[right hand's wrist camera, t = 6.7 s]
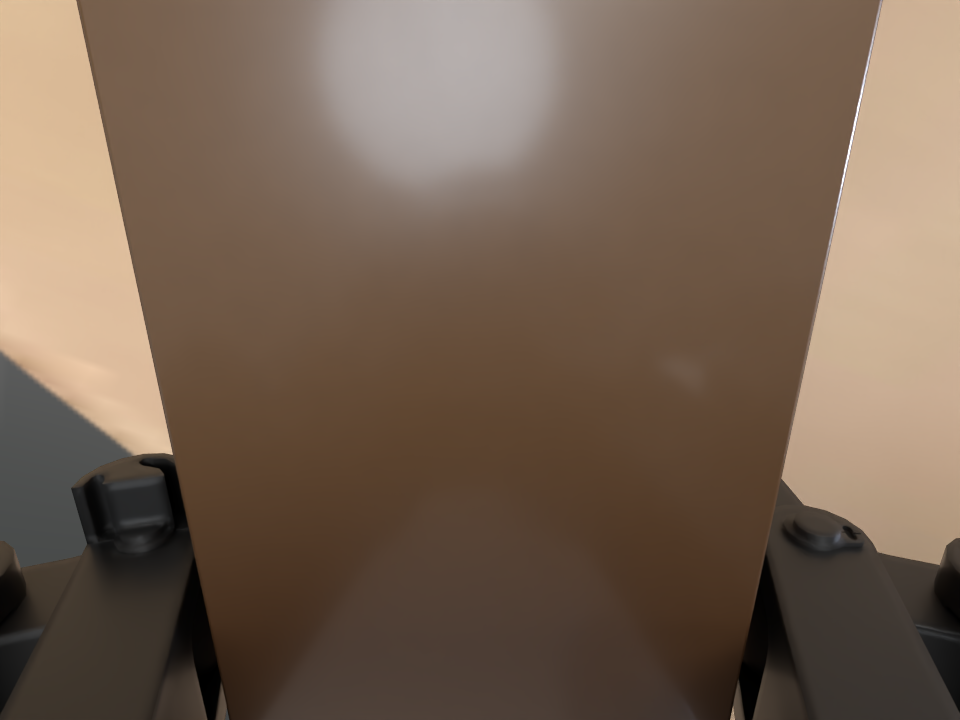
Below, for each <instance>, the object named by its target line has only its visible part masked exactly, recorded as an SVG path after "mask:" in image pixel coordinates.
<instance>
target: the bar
mask: <svg viewBox="0 0 960 720" xmlns="http://www.w3.org/2000/svg"><path fill="white" fill-rule="evenodd" d="M76 1H77V5H78V10H79V15H80V19H81V24H82V29H83V33H84V38H85V43H86V48H87V52H88V57H89V62H90V66H91V71H92V76H93V80H94V85H95V90H96V95H97V99H98V104H99V109H100V113H101V118H102V123H103V127H104V132H105V137H106V142H107V146H108V151H109V156H110V160H111V165H112V170H113V174H114V179H115V184H116V189H117V193H118V198H119V203H120V207H121V212H122V217H123V221H124V226H125V231H126V236H127V240H128V245H129V250H130V254H131V259H132V264H133V268H134V273H135V278H136V283H137V287H138V292H139V297H140V301H141V306H142V311H143V315H144V320H145V325H146V330H147V334H148V339H149V344H150V348H151V353H152V358H153V362H154V367H155V372H156V376H157V381H158V386H159V391H160V395H161V400H162V405H163V409H164V414H165V419H166V423H167V428H168V433H169V438H170V442H171V447H172V452H173V456H174V461H175V466H176V470H177V475H178V480H179V485H180V489H181V494H182V499H183V503H184V508H185V513H186V517H187V522H188V527H189V532H190V536H191V541H192V546H193V550H194V555H195V560H196V564H197V569H198V574H199V579H200V583H201V588H202V593H203V597H204V602H205V607H206V611H207V616H208V621H209V626H210V630H211V635H212V640H213V644H214V649H215V654H216V658H217V663H218V668H219V673H220V677H221V682H222V687H223V691H224V696H225V701H226V705H227V710H228V715H229V719H230V720H730V717H731V712H732V708H733V703H734V698H735V694H736V689H737V684H738V679H739V675H740V670H741V665H742V661H743V656H744V651H745V646H746V642H747V637H748V632H749V628H750V623H751V618H752V614H753V609H754V604H755V599H756V595H757V590H758V585H759V581H760V576H761V571H762V566H763V562H764V557H765V552H766V548H767V543H768V538H769V533H770V529H771V524H772V519H773V515H774V510H775V505H776V500H777V496H778V491H779V486H780V482H781V477H782V472H783V467H784V463H785V458H786V453H787V449H788V444H789V439H790V434H791V430H792V425H793V420H794V416H795V411H796V406H797V402H798V397H799V392H800V387H801V383H802V378H803V373H804V369H805V364H806V359H807V354H808V350H809V345H810V340H811V336H812V331H813V326H814V321H815V317H816V312H817V307H818V303H819V298H820V293H821V288H822V284H823V279H824V274H825V270H826V265H827V260H828V255H829V251H830V246H831V241H832V237H833V232H834V227H835V222H836V218H837V213H838V208H839V204H840V199H841V194H842V189H843V185H844V180H845V175H846V171H847V166H848V161H849V157H850V152H851V147H852V142H853V138H854V133H855V128H856V124H857V119H858V114H859V109H860V105H861V100H862V95H863V91H864V86H865V81H866V76H867V72H868V67H869V62H870V58H871V53H872V48H873V43H874V39H875V34H876V29H877V25H878V20H879V15H880V10H881V6H882V1H883V0H76Z"/></svg>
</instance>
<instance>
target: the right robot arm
mask: <svg viewBox="0 0 960 720" xmlns="http://www.w3.org/2000/svg"><path fill="white" fill-rule="evenodd" d="M71 489H72V493H73V496H74V500H75V503H76V507H77V510H78V513H79V517H80V520H81V524H82V527H83V531H84V534H85V538H86V541H87V546H86V548H85V550H84V552H83V554H82V555H81V556H77V557H73V558H68V559H64V560H59V561H53V562H49V563H43V564H39V565H33V566H29V567H23V568H20V565H19V562H18V559H17V556H16V553H15V550H14V548H13V547H11V546H10V545H8V544H7V543H6V542H4V541H0V720H225V716H226V708H227V705H226V701H225V696H224V691H223V687H222V682H221V677H220V673H219V668H218V663H217V658H216V654H215V649H214V644H213V640H212V635H211V630H210V626H209V621H208V616H207V611H206V607H205V602H204V597H203V593H202V588H201V583H200V579H199V574H198V569H197V564H196V560H195V555H194V550H193V546H192V541H191V536H190V532H189V527H188V522H187V517H186V513H185V508H184V503H183V499H182V494H181V489H180V485H179V480H178V475H177V470H176V466H175V461H174V456H173V455H170V454H165V453H158V454H142V455H137V456H132V457H127V458H122V459H119V460H116V461H114V462H111V463H108V464H105V465H103V466H100V467H98V468H97V469H95V470H93V471H92V472H90V473H88V474H86V475H85V476H83V477H82V478H81V479H80V480H79V481H78V482H77V483H76V484H75V485H74V486H73V487H72V488H71ZM733 707H734V715H735V720H960V538H956V539H955V540H953V541H952V542H951V543H949V544H948V545H947V546H946V549H945V552H944V555H943V557H942V560H941V563H940V565H936V564H931V563H926V562H921V561H916V560H910V559H905V558H900V557H895V556H890V555H886V554H882V553H878V552H877V551H876V549H875V547H874V545H873V543H872V542H871V541H870V539H869V538H868V537H867V536H866V534H865V533H864V532H863V531H862V530H861V529H859V528H858V527H856V526H855V525H853V524H852V523H850V522H849V521H848V520H846V519H844V518H842V517H839V516H837V515H835V514H832V513H830V512H828V511H825V510H821V509H817V508H813V507H809V506H804V505H803V504H802V503H801V501H800V500H799V499H798V498H797V497H796V495H795V494H794V493H793V492H792V491H791V490H790V488H789V487H788V486H787V485H786V484H785V482H784V481H783V480H782V479H781V482H780V486H779V491H778V496H777V500H776V505H775V510H774V515H773V519H772V524H771V529H770V533H769V538H768V543H767V548H766V552H765V557H764V562H763V566H762V571H761V576H760V581H759V585H758V590H757V595H756V599H755V604H754V609H753V614H752V618H751V623H750V628H749V632H748V637H747V642H746V646H745V651H744V656H743V661H742V665H741V670H740V675H739V679H738V684H737V689H736V694H735V698H734V703H733Z"/></svg>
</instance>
